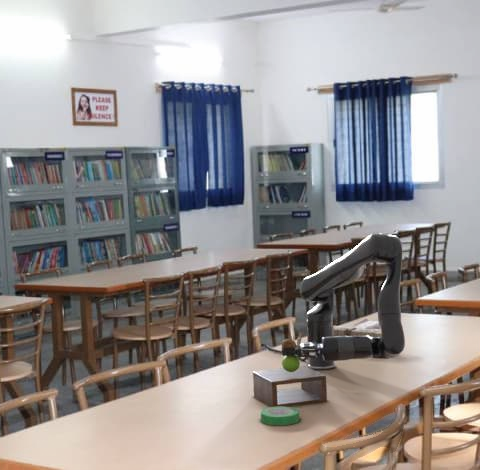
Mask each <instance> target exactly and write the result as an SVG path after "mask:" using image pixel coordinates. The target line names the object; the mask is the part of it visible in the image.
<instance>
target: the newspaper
mask: <svg viewBox="0 0 480 470" xmlns="http://www.w3.org/2000/svg"><path fill="white" fill-rule="evenodd" d="M350 327H356V328H357V329H358V328H366V329H380V330H381V326H380V324H379V321H376V320H369V319H367V318H365V319H362V320H360V321H359V322H357V323H354V324H353V325H351V326H350Z"/></svg>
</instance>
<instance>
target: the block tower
mask: <svg viewBox="0 0 480 470" xmlns="http://www.w3.org/2000/svg"><path fill="white" fill-rule="evenodd" d="M334 336H369V337H370V338H381V337H382V333H381V330H380V329H366V328H358V329H357V328H356V327H351V326H344V325H343V326H342V325H340V326H339V325H333V337H334Z"/></svg>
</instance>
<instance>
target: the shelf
mask: <svg viewBox="0 0 480 470" xmlns="http://www.w3.org/2000/svg"><path fill="white" fill-rule="evenodd" d="M252 378H253V379H252V380H253V397H254V398H255V399H256V400H259V401H260V402H261V403H264V404H265V405H267V406H268V407H277V406H286V407H295V406H304V405H311V404H320V403H327V402H328V391H327V390H328V389H327V375H326V374H323V373H321V372H319V371H317V370H316V369H311V368H309V367H308V366H306V365H299V368H298V369H297V370H296V371H294V372H288V371H286V370H285V369H284V368H283V367H281V368H272V369H264V370H256V371H252ZM297 383H298V384H299V383H300V388H299V387H298V388H291V389H282V390H278V386H282V385H291V384H297Z"/></svg>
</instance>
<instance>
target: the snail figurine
mask: <svg viewBox="0 0 480 470" xmlns="http://www.w3.org/2000/svg"><path fill="white" fill-rule="evenodd" d="M301 343H302V333H301V332H300V333H299V336H298V337H297V338H296V341H295V340H293V339H292V338H287V339H286V338H285V340H283V341H282V343H281V350H282V349H283V348H294V349H295V348H296V347H300V345H301ZM296 344H297V345H296ZM300 363H301V362H300V359H299V358H298V357H296V356H295V355H290V356H284V357H283V358H282V361H281V366H282V368H284V369H285V370H286V371H288V372H294V371H296V370H297V369H298V368H299V366H301V364H300Z"/></svg>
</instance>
